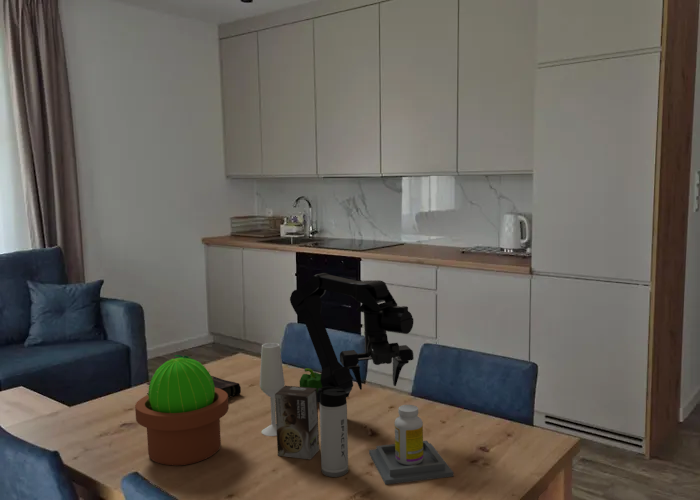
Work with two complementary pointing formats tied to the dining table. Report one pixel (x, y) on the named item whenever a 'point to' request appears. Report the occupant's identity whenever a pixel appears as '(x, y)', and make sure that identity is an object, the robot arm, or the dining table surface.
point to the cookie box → (297, 422)
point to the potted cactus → (182, 413)
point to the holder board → (401, 473)
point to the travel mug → (333, 431)
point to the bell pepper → (311, 380)
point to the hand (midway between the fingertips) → (377, 387)
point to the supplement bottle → (408, 436)
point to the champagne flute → (271, 379)
